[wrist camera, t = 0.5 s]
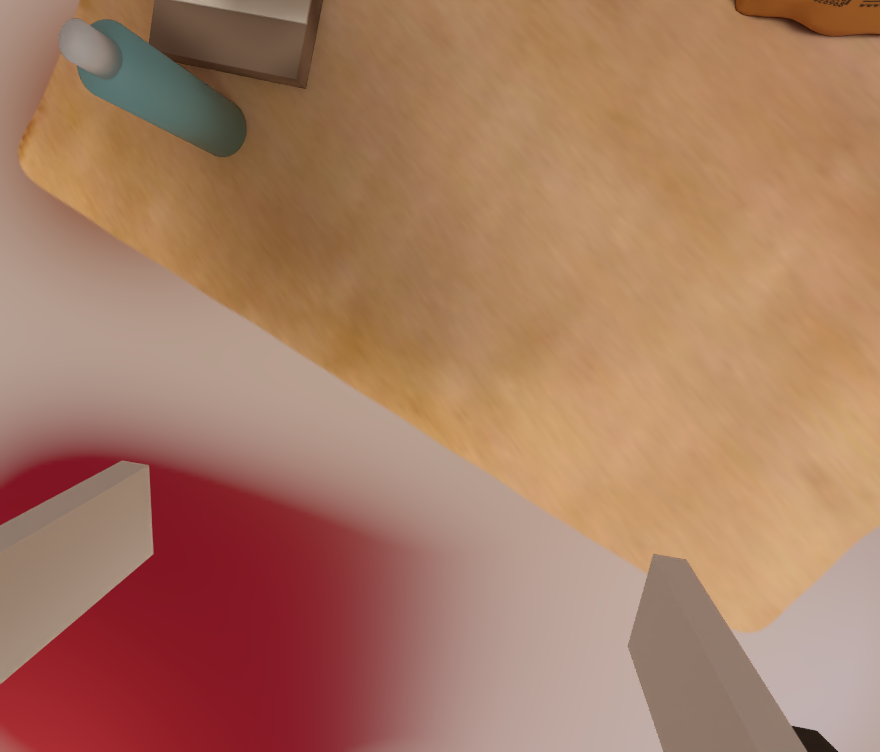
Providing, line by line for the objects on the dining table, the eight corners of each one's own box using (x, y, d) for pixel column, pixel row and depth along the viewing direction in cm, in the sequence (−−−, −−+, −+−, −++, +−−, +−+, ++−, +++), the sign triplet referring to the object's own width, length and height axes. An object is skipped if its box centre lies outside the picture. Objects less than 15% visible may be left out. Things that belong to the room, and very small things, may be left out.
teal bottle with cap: (204, 95, 39) (48, -8, 27) (250, 106, 39) (112, 4, 26) (195, 150, 40) (40, 75, 28) (241, 162, 40) (102, 89, 27)
